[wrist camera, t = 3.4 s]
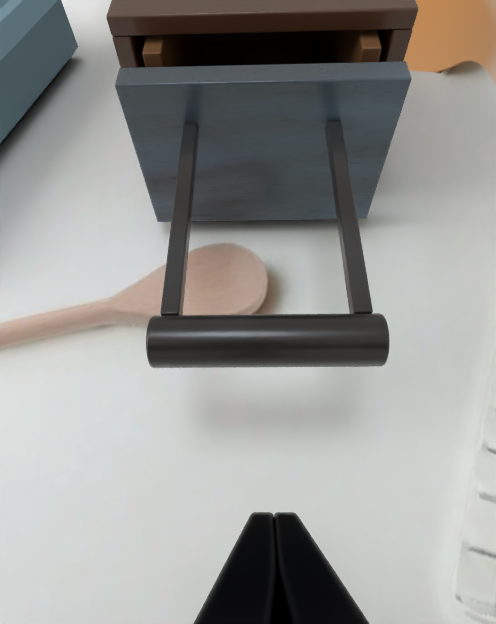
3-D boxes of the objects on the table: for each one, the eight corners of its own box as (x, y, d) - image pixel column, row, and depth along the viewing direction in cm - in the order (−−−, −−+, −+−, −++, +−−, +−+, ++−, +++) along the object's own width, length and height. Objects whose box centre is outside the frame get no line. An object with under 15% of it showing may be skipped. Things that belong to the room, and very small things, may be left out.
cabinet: (365, 188, 25) (419, 8, 17) (156, 192, 25) (105, 16, 17) (335, 30, 34) (361, -141, 25) (180, 34, 34) (154, -134, 25)
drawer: (402, 417, 17) (494, 333, 10) (129, 418, 18) (47, 337, 11) (335, 49, 31) (357, -93, 24) (181, 52, 31) (159, -87, 24)
